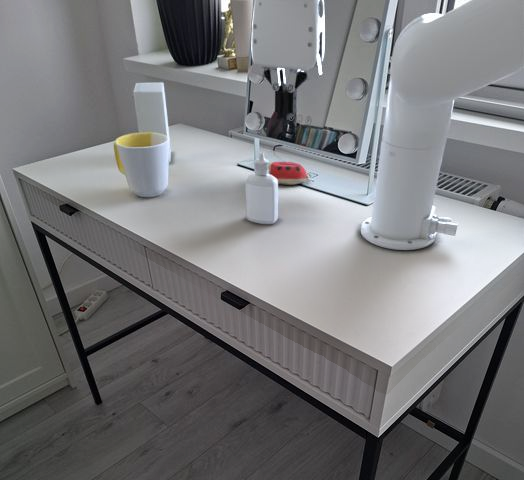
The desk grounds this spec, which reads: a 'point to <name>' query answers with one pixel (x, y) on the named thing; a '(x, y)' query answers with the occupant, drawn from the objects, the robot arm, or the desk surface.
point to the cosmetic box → (151, 109)
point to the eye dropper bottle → (261, 193)
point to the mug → (143, 162)
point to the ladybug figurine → (288, 172)
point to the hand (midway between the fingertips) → (285, 117)
